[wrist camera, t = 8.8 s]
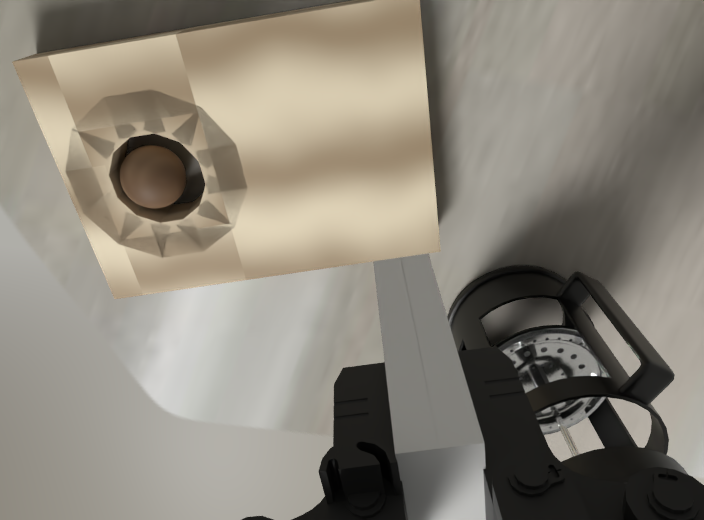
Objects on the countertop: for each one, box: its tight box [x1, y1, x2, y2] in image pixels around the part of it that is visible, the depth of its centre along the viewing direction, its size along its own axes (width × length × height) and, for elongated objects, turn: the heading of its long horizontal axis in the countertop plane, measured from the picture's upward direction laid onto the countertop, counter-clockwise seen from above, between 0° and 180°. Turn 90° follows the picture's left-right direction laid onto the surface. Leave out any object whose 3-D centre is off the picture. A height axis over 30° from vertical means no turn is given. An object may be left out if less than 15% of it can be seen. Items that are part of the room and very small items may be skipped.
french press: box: [447, 265, 688, 484], centre depth 28 cm, size 12×9×23 cm
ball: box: [120, 145, 186, 208], centre depth 31 cm, size 4×4×4 cm
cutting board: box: [12, 0, 440, 299], centre depth 31 cm, size 14×20×2 cm
